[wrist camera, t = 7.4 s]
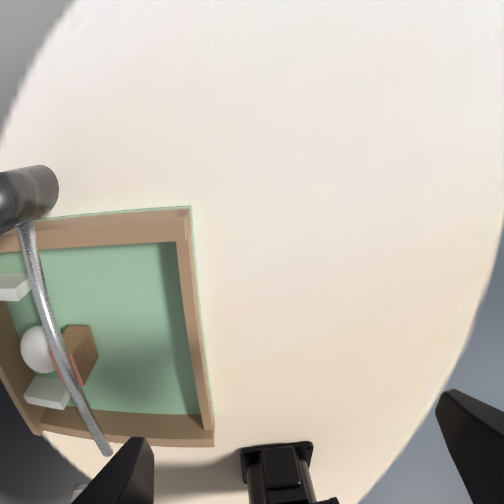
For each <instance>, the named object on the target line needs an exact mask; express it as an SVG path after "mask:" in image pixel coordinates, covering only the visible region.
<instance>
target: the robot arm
mask: <svg viewBox="0 0 504 504" xmlns="http://www.w3.org/2000/svg"><path fill="white" fill-rule="evenodd" d="M435 414H436V418H437V421H438V423H439V426H440V428H441V431H442V434H443V437H444V439H445V442H446V445H447V447H448V450H449V452H450V455H451V457H452V459H453V461H454V463H455V465H456V467H457V469H458V471H459V474H460V476H461V478H462V480H463V482H464V484H465V486H466V488H467V491H468V493H469V495H470V498H471V500H472V502H473V504H504V412H503V411H500V410H498V409H496V408H494V407H492V406H490V405H487V404H486V403H483V402H481V401H479V400H477V399H475V398H473V397H471V396H469V395H467V394H464V393H462V392H460V391H458V390H456V389H449V390H447V391H444V392H443V393H442V394H441V396H440V399H439V401H438V404H437V406H436V409H435ZM312 452H313V443H312V442H304V443H297V444H289V445H280V446H271V447H260V448H246V449H242V450H241V451H240V456H241V466H242V477H243V483H244V484H248V495H249V504H339V502H338V500H337V497H333V498H330V499H329V500H324V501H319V502H317V500H316V497H315V493H314V489H313V485H312V481H311V477H310V473H309V466H310V462H311V457H312ZM153 502H154V454H153V451H152V449H151V447H150V445H149V443H148V441H147V439H146V438H145V437H140V436H132V437H130V438H129V439H128V441H127V442H126V443H125V444H124V445H123V446H122V447H121V448H120V450H119V451H118V452H117V453H116V454H115V455H114V456H113V458H112V459H111V460H110V461H109V462H108V463H107V464H106V465H105V466H104V468H103V469H102V470H101V471H100V472H99V473H98V474H97V475H96V477H95V478H94V479H93V480H92V481H91V482H90V483H89V484H88V485H87V486H86V488H85V489H84V490H83V491H82V492H81V493H80V494H79V495H78V496H77V497H76V498H75V500H74V501H73V502H72V503H71V504H153Z"/></svg>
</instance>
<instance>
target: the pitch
mask: <svg viewBox="0 0 504 504" xmlns="http://www.w3.org/2000/svg"><path fill="white" fill-rule="evenodd" d="M33 224H34V230H35V235H36V241H37V246H38V251H39V255H40V260H41V264H42V269H43V273H44V277H45V281H46V285H47V289H48V292H49V296H50V300H51V303H52V306H53V310H54V313H55V316H56V320H57V323H58V326H59V329H60V332H61V335H62V334H63V333H64V331H65V330H66V328H67V327H68V326H69V325H82V326H90V328H91V332H92V335H93V338H94V342H95V345H96V348H97V351H98V354H99V357H98V359H97V361H96V363H95V365H94V367H93V369H92V372H91V374H90V376H89V378H88V380H87V382H86V384H85V386H81V387H82V389H83V391H84V394H85V396H86V398H87V400H88V403H89V405H90V407H91V409H92V411H93V413H94V415H95V417H96V419H97V421H98V423H99V425H100V427H101V429H102V431H103V433H104V435H105V437H106V439H107V441H108V442H114V443H123V444H125V443H126V442H127V441H128V439H129V438H130V437H132V436H140V437H145V438H146V439H147V441H148V443H149V445H150V446H163V447H214V410H213V403H212V397H211V390H210V383H209V376H208V368H207V361H206V353H205V345H204V337H203V329H202V320H201V311H200V302H199V292H198V282H197V271H196V260H195V248H194V236H193V222H192V208H191V206H176V207H161V208H147V209H134V210H122V211H111V212H100V213H90V214H80V215H70V216H61V217H52V218H44V219H35V220H33ZM37 325H42V322H41V319H40V316H39V313H38V310H37V307H36V303H35V300H34V297H33V293H32V290H31V286H30V282H29V279H28V275H27V271H26V267H25V262H24V258H23V254H22V249H21V244H20V239H19V234H18V229H17V227H16V228H14V229H12V230H10V231H8V232H6V233H4V234H2V235H0V379H1V380H2V382H3V384H4V386H5V388H6V390H7V392H8V393H9V395H10V397H11V399H12V401H13V402H14V404H15V406H16V407H17V409H18V411H19V413H20V414H21V415H22V417H23V419H24V421H25V422H26V424H27V425H28V427H29V428H30V430H31V431H32V433H33V434H34V435H38V436H41V434H42V432H43V430H45V431H49V432H54V433H58V434H63V435H68V436H74V437H80V438H86V439H92V440H94V439H93V437H92V435H91V433H90V432H89V430H88V428H87V426H86V424H85V422H84V421H83V419H82V417H81V415H80V413H79V411H78V409H77V407H76V405H75V403H74V401H73V399H72V397H71V395H70V392H69V390H68V388H67V386H66V384H63V383H62V381H61V379H60V376H59V374H58V372H57V369H56V370H55V371H53V372H50V373H39V372H36V371H34V370H33V369H31V368H30V367H29V366H28V365H27V364H26V363H25V361H24V359H23V357H22V354H21V349H20V344H21V339H22V337H23V335H24V333H25V332H26V331H27V330H28V329H29V328H31V327H33V326H37Z"/></svg>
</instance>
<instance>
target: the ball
mask: <svg viewBox="0 0 504 504" xmlns="http://www.w3.org/2000/svg"><path fill="white" fill-rule="evenodd" d="M20 349H21V354H22V357H23V359H24V361H25V363H26V364H27V365H28V366H29V367H30V368H31V369H33V370H34V371H36V372H39V373H50V372H53V371H55V370H56V367H55V365H54V362H53V360H52V357H51V355H50V351H51V347H50V345H49V342H48V339H47V337H46V334H45V331H44V328H43V325H37V326H33V327H31V328H29V329H28V330H27V331H26V332H25V333H24V335H23V337H22V339H21V344H20Z"/></svg>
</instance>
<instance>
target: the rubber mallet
mask: <svg viewBox="0 0 504 504" xmlns="http://www.w3.org/2000/svg"><path fill="white" fill-rule="evenodd" d="M58 194H59V186H58V181H57V178H56V176H55V174H54V173H53V171H52V170H51V169H50V168H48V167H47V166H44V165H35V166H30V167H25V168H20V169H15V170H10V171H5V172H1V173H0V235H2V234H4V233H6V232H8V231H10V230H12V229H14V228H16V227H17V229H18V234H19V239H20V244H21V249H22V254H23V258H24V262H25V267H26V271H27V275H28V279H29V282H30V286H31V290H32V293H33V297H34V300H35V303H36V307H37V310H38V313H39V316H40V319H41V322H42V325H43V328H44V331H45V334H46V337H47V339H48V342H49V345H50V347H51V351H50V355H51V357H52V360H53V362H54V365H55V367H56V369H57V372H58V374H59V376H60V379H61V381H62V383H63V384H66V386H67V388H68V390H69V392H70V395H71V397H72V399H73V401H74V403H75V405H76V407H77V409H78V411H79V413H80V415H81V417H82V419H83V421H84V422H85V424H86V426H87V428H88V430H89V432H90V433H91V435H92V437H93V439H94V441H95V442H96V444H97V446H98V447H99V449H100V451H101V452H102V454H103V455H104V456H106V457H109V456H111V455H112V454H113V450H112V448H111V446H110V444H109V442H108V441H107V439H106V437H105V435H104V433H103V431H102V429H101V427H100V425H99V423H98V421H97V419H96V417H95V415H94V413H93V411H92V409H91V407H90V405H89V403H88V400H87V398H86V396H85V394H84V391H83V389H82V387H81V386H85V384H86V382H87V380H88V378H89V376H90V374H91V372H92V369H93V367H94V365H95V363H96V361H97V359H98V357H99V354H98V351H97V348H96V345H95V342H94V338H93V335H92V332H91V328H90V326H82V325H69V326H68V327H67V328H66V330H65V331H64V333H63V334H62V335H61V332H60V329H59V326H58V323H57V320H56V316H55V313H54V310H53V306H52V303H51V300H50V296H49V292H48V289H47V285H46V281H45V277H44V273H43V269H42V264H41V260H40V255H39V251H38V246H37V241H36V235H35V230H34V224H33V219H34V218H36V217H38V216H40V215H42V214H44V213H47V212H48V211H50V210H51V209H52V208H53V207H54V205H55V204H56V201H57V199H58Z"/></svg>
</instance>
